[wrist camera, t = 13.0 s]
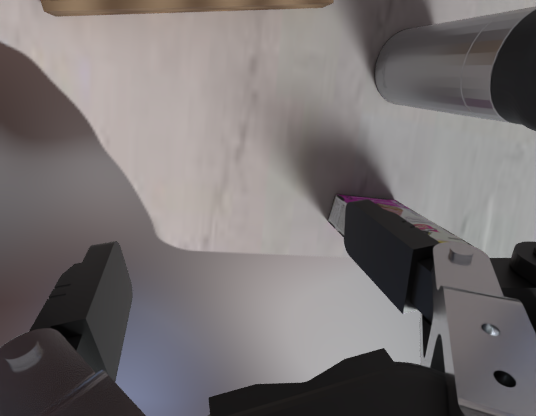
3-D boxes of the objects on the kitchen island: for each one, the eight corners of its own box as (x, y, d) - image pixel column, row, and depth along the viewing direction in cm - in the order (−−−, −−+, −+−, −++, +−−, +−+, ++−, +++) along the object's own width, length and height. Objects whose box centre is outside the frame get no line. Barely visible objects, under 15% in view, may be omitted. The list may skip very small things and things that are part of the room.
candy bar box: (396, 197, 50) (485, 250, 35) (386, 225, 52) (467, 286, 37) (334, 191, 47) (404, 246, 32) (325, 221, 48) (388, 287, 34)
